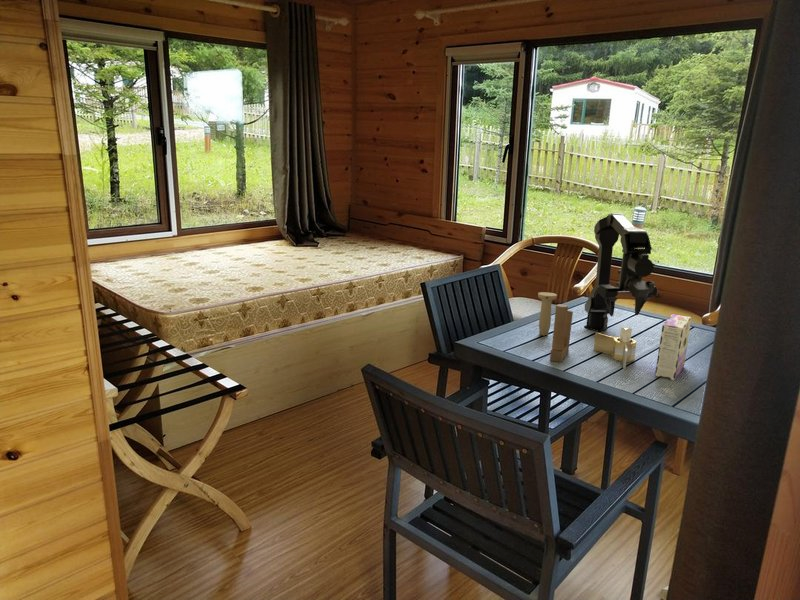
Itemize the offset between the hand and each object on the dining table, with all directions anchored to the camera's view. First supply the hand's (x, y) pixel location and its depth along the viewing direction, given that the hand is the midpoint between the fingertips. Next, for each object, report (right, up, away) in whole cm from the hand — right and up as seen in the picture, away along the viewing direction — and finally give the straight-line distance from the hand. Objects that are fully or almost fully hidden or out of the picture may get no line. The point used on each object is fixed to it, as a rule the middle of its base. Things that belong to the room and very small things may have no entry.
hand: (624, 315), depth 197 cm
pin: (-2, -14, -3) cm, 14 cm away
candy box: (+9, -17, -13) cm, 23 cm away
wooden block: (-22, -13, -3) cm, 26 cm away
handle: (-22, -8, +18) cm, 29 cm away
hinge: (-5, -14, -3) cm, 15 cm away
